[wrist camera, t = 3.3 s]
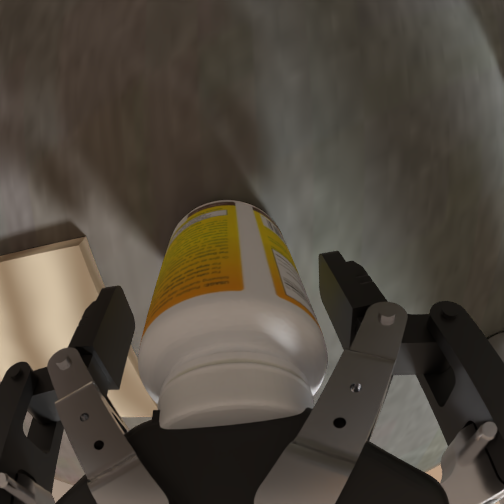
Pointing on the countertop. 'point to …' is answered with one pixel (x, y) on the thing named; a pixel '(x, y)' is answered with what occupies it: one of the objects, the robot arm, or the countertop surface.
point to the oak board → (57, 313)
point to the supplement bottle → (230, 324)
